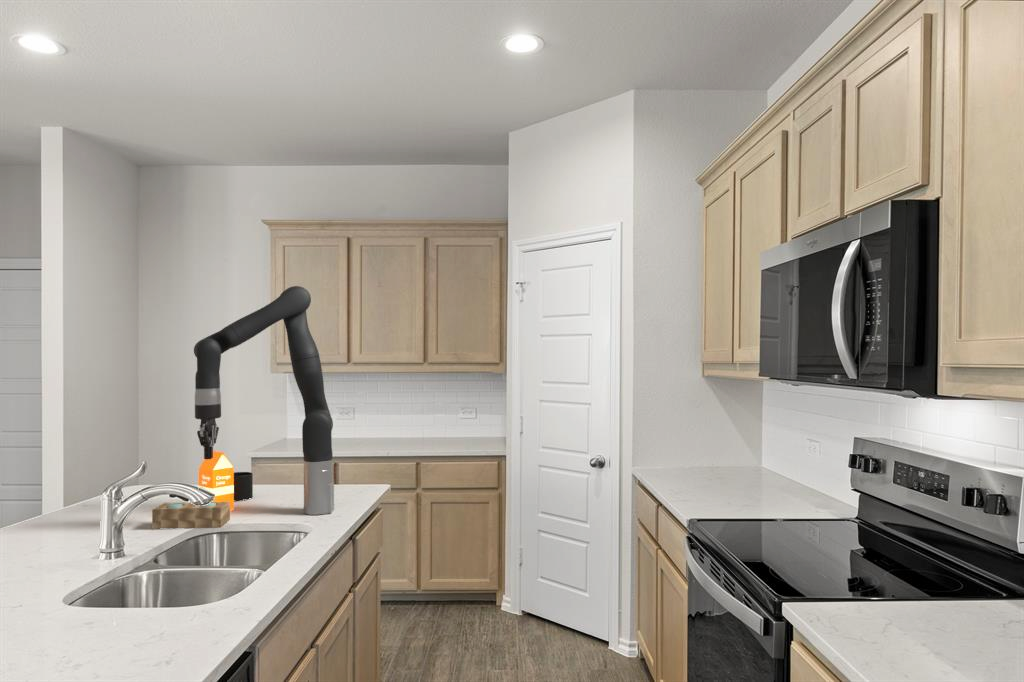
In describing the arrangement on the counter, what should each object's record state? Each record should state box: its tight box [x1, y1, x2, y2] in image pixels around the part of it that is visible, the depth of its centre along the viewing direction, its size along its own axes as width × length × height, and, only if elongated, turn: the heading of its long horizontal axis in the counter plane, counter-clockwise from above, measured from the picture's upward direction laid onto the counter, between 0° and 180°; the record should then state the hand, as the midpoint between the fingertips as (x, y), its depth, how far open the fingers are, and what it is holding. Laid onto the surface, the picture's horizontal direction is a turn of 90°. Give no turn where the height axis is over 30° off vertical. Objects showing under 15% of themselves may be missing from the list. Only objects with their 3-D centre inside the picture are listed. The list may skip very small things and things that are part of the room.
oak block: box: [151, 501, 231, 530], centre depth 217 cm, size 20×9×6 cm, turn 95°
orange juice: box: [198, 450, 235, 510], centre depth 237 cm, size 8×9×20 cm
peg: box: [168, 504, 182, 508], centre depth 217 cm, size 4×4×6 cm
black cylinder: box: [234, 471, 254, 500], centre depth 258 cm, size 9×12×9 cm
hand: (208, 458), depth 218 cm, fingers closed
